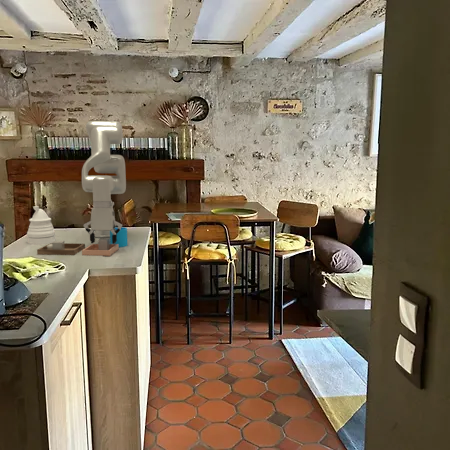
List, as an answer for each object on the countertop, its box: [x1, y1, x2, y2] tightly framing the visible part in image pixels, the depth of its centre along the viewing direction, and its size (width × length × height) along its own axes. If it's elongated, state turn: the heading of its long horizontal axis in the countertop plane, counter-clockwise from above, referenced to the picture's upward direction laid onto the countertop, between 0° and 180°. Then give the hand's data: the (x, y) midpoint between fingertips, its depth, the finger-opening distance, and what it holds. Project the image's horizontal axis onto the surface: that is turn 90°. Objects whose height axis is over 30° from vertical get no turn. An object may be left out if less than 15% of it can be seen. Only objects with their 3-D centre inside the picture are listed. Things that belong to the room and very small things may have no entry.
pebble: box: [47, 243, 53, 250], centre depth 201 cm, size 3×3×3 cm
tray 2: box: [81, 243, 120, 257], centre depth 201 cm, size 14×12×2 cm
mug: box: [109, 226, 128, 248], centre depth 218 cm, size 12×8×8 cm
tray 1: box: [36, 242, 86, 256], centre depth 201 cm, size 14×16×2 cm
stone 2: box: [97, 237, 110, 250], centre depth 204 cm, size 4×4×5 cm
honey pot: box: [26, 205, 57, 245], centre depth 220 cm, size 13×13×18 cm
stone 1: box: [52, 240, 65, 250], centre depth 198 cm, size 4×4×5 cm
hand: (103, 242), depth 203 cm, fingers open, 9 cm apart
